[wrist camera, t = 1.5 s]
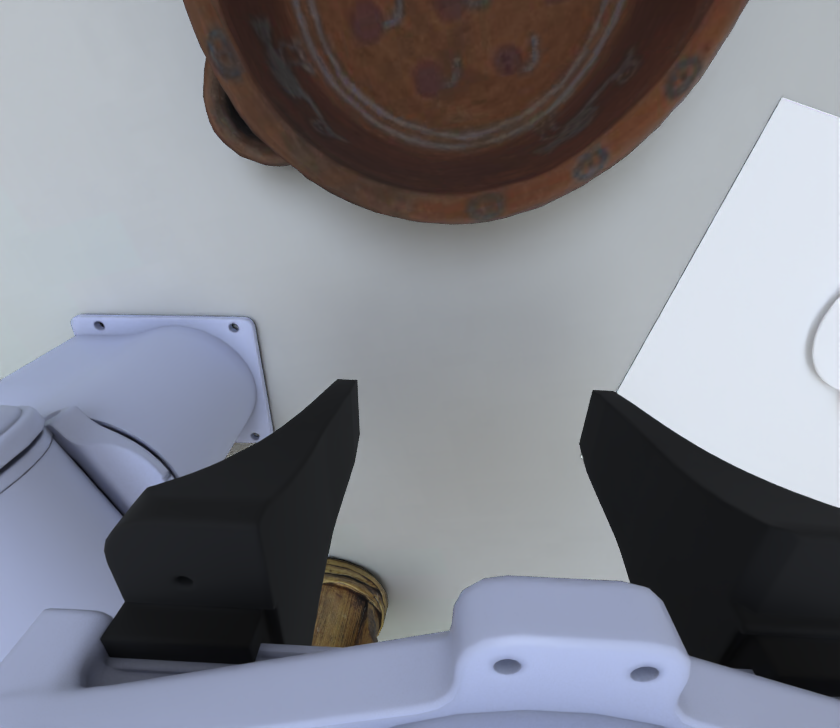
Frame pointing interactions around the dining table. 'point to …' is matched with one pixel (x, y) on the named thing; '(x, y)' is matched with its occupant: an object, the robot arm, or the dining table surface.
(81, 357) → the robot arm
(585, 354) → the dining table surface
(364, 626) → the wooden mug
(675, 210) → the dining table surface
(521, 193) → the dish
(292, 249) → the dining table surface
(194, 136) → the dining table surface
